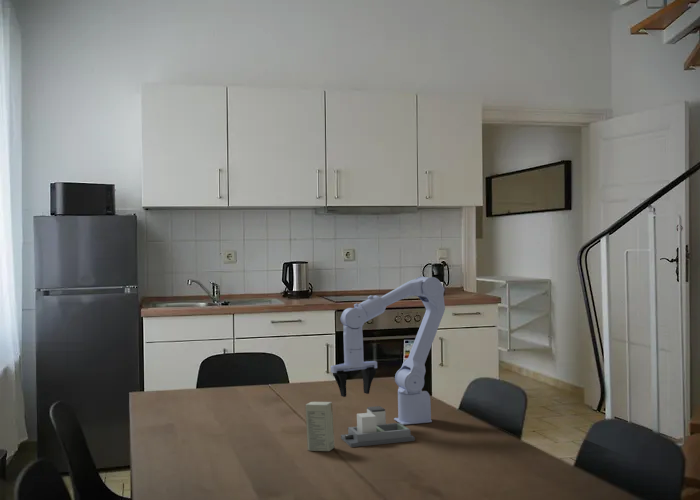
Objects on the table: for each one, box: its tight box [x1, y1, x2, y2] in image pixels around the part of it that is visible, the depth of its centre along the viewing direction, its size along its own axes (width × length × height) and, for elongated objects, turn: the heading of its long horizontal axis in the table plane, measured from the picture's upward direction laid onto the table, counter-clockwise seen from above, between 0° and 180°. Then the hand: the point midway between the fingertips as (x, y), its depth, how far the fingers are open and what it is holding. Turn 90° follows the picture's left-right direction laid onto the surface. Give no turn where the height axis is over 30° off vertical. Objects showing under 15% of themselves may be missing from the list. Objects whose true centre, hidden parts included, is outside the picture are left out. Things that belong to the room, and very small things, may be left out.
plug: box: [366, 405, 387, 425], centre depth 218 cm, size 4×5×6 cm
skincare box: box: [304, 401, 335, 452], centre depth 199 cm, size 6×4×12 cm
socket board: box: [340, 412, 416, 448], centre depth 207 cm, size 18×10×7 cm, turn 106°
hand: (355, 394), depth 223 cm, fingers open, 7 cm apart
